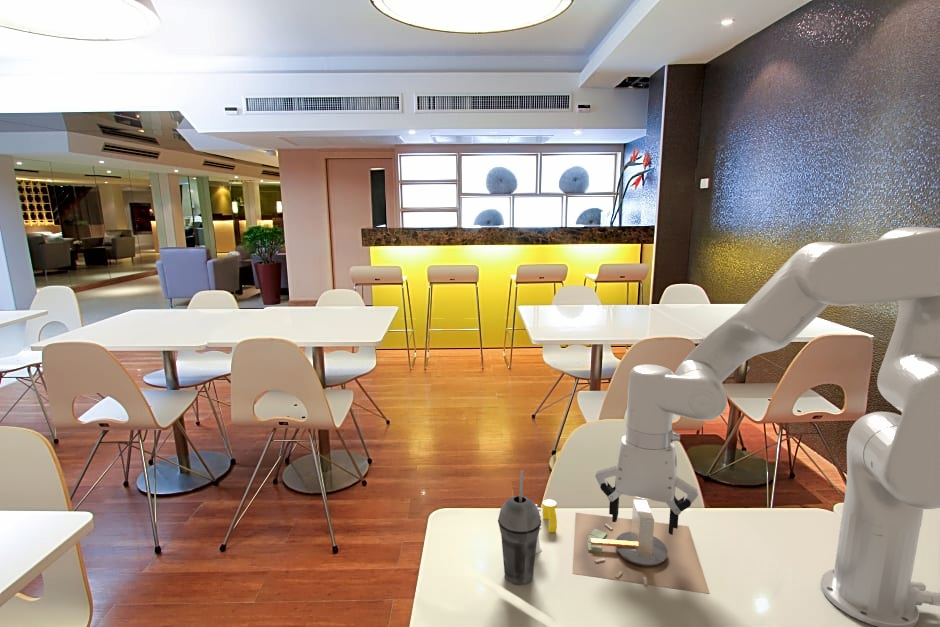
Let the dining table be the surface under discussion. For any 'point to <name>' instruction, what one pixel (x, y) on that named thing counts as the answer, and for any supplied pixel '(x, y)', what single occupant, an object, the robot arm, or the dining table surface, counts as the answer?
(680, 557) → the board
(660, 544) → the dial
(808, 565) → the dining table surface
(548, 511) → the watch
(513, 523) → the beverage cup
